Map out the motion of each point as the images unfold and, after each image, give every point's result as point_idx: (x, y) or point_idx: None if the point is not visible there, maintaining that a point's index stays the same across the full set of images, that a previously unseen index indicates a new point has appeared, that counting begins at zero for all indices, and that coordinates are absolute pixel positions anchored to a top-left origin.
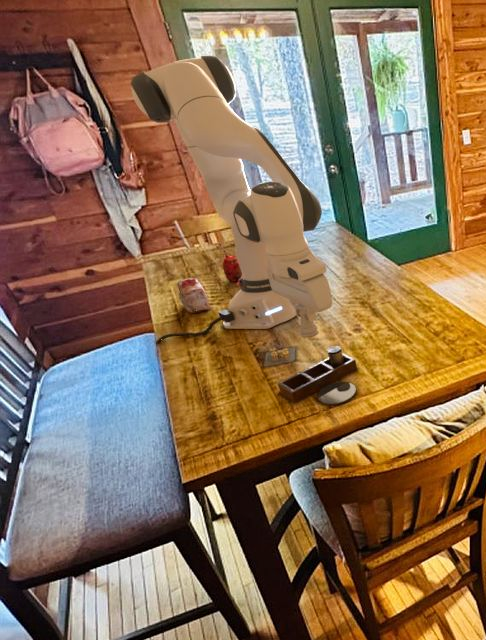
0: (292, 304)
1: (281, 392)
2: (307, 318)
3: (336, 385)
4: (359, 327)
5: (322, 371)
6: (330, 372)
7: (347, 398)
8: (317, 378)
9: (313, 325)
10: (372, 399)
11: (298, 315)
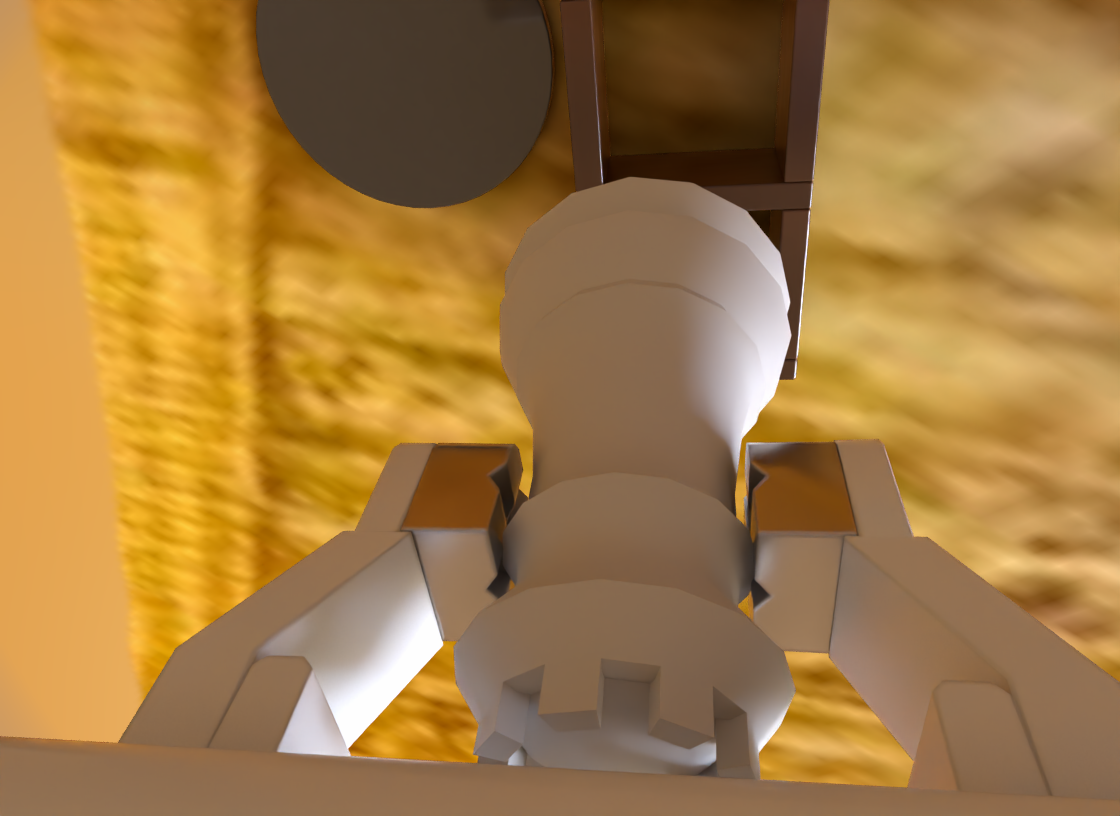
0: (971, 638)
1: None
2: (440, 472)
3: (496, 116)
4: (1054, 620)
5: (776, 151)
6: (573, 161)
7: (274, 76)
8: (574, 25)
9: (531, 425)
10: (190, 195)
11: (799, 451)
